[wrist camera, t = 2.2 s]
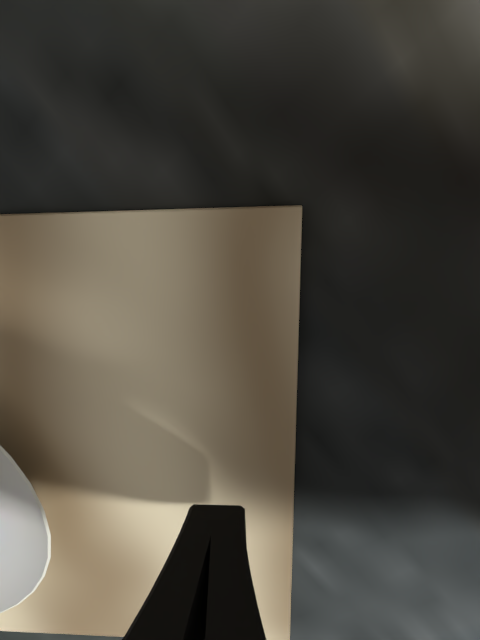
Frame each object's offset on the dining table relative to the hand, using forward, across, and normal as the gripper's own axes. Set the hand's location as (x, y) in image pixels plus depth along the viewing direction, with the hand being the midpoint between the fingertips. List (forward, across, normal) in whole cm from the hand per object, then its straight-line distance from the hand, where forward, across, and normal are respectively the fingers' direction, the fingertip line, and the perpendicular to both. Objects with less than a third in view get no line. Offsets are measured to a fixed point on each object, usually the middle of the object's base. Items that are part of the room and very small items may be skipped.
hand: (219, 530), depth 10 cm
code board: (+2, +12, 0) cm, 12 cm away
